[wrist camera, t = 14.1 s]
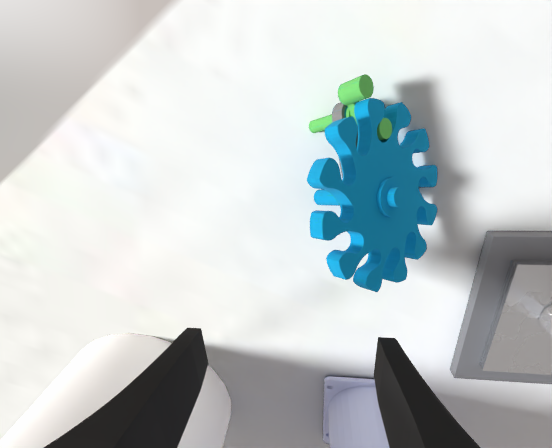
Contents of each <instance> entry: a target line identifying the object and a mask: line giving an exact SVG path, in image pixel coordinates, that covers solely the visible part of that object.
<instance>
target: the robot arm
mask: <svg viewBox="0 0 552 448" xmlns="http://www.w3.org/2000/svg"><path fill="white" fill-rule="evenodd" d="M207 366H208V360H207V356H206V351H205V346H204V341H203V336H202V331H201V329H200V328H187V329H186V330H185V331H184V332H183V333H181V334H180V335H179V336H178V338H177V339H176V340H175V341H174V342H173V343H172V344H171V345H170V346H169V347H168V348H167V349H166V350H165V351H164V352H163V353H162V354H161V355H160V356H159V357H158V358H157V359H156V360H154V361H153V362H152V363H151V364H150V365H149V366H148V367H147V368H146V369H145V370H144V371H143V372H142V373H141V374H140V375H139V376H138V377H136V378H135V379H134V380H133V381H132V382H131V383H130V384H129V385H128V386H126V387H125V388H124V389H123V390H122V391H121V392H120V393H118V394H117V395H116V396H115V397H114V398H112V399H111V400H110V401H109V402H107V403H106V404H105V405H104V406H102V407H101V408H100V409H98V410H97V411H96V412H94V413H93V414H92V415H90V416H89V417H88V418H86V419H85V420H83V421H82V422H81V423H79V424H78V425H76V426H75V427H73V428H72V429H71V430H69V431H68V432H66V433H65V434H64V435H62V436H61V437H59V438H58V439H56V440H54V441H53V442H51V443H50V444H48V445H47V446H45V447H44V448H177V447H178V445H179V442H180V440H181V437H182V435H183V433H184V430H185V428H186V425H187V423H188V420H189V418H190V415H191V413H192V411H193V408H194V406H195V403H196V401H197V398H198V396H199V393H200V390H201V388H202V384H203V381H204V377H205V374H206V370H207ZM323 441H324V442H325V443H326V444H330V448H480V447H479V446H478V445H477V443H476V442H475V441H474V440H473V439H472V438H471V437H470V436H469V435H468V434H467V433H466V431H465V430H464V429H463V428H462V427H461V426H460V425H459V423H458V422H457V421H456V420H455V419H454V418H453V416H452V415H451V414H450V413H449V412H448V410H447V409H446V408H445V407H444V405H443V404H442V403H441V402H440V400H439V399H438V398H437V397H436V395H435V394H434V393H433V391H432V390H431V389H430V387H429V386H428V385H427V384H426V382H425V381H424V380H423V378H422V377H421V375H420V374H419V373H418V371H417V370H416V368H415V367H414V366H413V364H412V363H411V361H410V360H409V358H408V357H407V355H406V354H405V352H404V351H403V349H402V348H401V346H400V344H399V343H398V341H397V340H396V339H395V338H381V337H378V343H377V352H376V360H375V369H374V379H363V378H348V377H334V376H328V377H326V378H325V379H324V416H323Z"/></svg>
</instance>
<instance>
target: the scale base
mask: <svg viewBox="0 0 552 448" xmlns="http://www.w3.org/2000/svg"><path fill="white" fill-rule="evenodd" d="M512 260H552V231H487V233H486V236H485V240H484V244H483V248H482V251H481V255H480V259H479V263H478V266H477V270H476V274H475V278H474V281H473V285H472V289H471V293H470V296H469V300H468V304H467V308H466V311H465V315H464V319H463V323H462V326H461V330H460V334H459V338H458V341H457V345H456V349H455V353H454V356H453V360H452V364H451V368H450V370H451V373H452V375H453V377H454V378H464V379H479V380H495V381H510V382H525V383H541V384H552V375H544V374H528V373H511V372H495V371H482V369H481V367H480V366H479V361H480V358H481V355H482V352H483V349H484V346H485V342H486V339H487V336H488V333H489V330H490V327H491V324H492V320H493V317H494V314H495V311H496V308H497V305H498V302H499V299H500V295H501V292H502V289H503V286H504V283H505V280H506V277H507V273H508V270H509V267H510V264H511V261H512Z"/></svg>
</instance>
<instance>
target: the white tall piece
mask: <svg viewBox="0 0 552 448" xmlns="http://www.w3.org/2000/svg"><path fill="white" fill-rule="evenodd" d="M171 344H172V343H171V342H168V341H165V340H162V339H159V338H156V337H153V336H147V335H140V334H132V333H125V334H113V335H107V336H104V337H102V338H99V339H96V340H93V341H92V342H91V343H89V344H88V345H87V346H86V347H85V348H83V349H82V350H81V351H80V352H79V353H78V354H77V356H76V357H75V358H74V359H73V360H72V361H71V362H70V363H69V364H68V366H67V367H66V368H65V369H64V370H63V371H62V372H61V373H60V374H59V376H58V377H57V378H56V379H55V380H54V381H53V382H52V383H51V384H50V386H49V387H48V388H47V389H46V390H45V391H44V392H43V393H42V395H41V396H40V397H39V398H38V399H37V400H36V401H35V402H34V403H33V405H32V406H31V407H30V408H29V409H28V410H27V411H26V412H25V413H24V415H23V416H22V417H21V418H20V419H19V420H18V421H17V422H16V423H15V425H14V426H13V427H12V428H11V429H10V430H9V431H8V432H7V433H6V435H5V436H4V437H3V438H2V439H1V440H0V448H44V447H45V446H47V445H48V444H50V443H51V442H53V441H54V440H56V439H58V438H59V437H61V436H62V435H64V434H65V433H66V432H68V431H69V430H71V429H72V428H73V427H75V426H76V425H78V424H79V423H81V422H82V421H83V420H85V419H86V418H88V417H89V416H90V415H92V414H93V413H94V412H96V411H97V410H98V409H100V408H101V407H102V406H104V405H105V404H106V403H107V402H109V401H110V400H111V399H112V398H114V397H115V396H116V395H117V394H118V393H120V392H121V391H122V390H123V389H124V388H125V387H126V386H128V385H129V384H130V383H131V382H132V381H133V380H134V379H135V378H136V377H138V376H139V375H140V374H141V373H142V372H143V371H144V370H145V369H146V368H147V367H148V366H149V365H150V364H151V363H152V362H153V361H154V360H156V359H157V358H158V357H159V356H160V355H161V354H162V353H163V352H164V351H165V350H166V349H167V348H168V347H169V346H170V345H171ZM230 417H231V399H230V396H229V394H228V391H227V388H226V386H225V384H224V383H223V381H222V380H221V379H220V378H219V376H218V375H217V374H216V372H215V371H214V370H213V369H212V368H211V367H210V366H209V365H208V366H207V370H206V374H205V377H204V381H203V384H202V388H201V390H200V393H199V396H198V398H197V401H196V403H195V406H194V408H193V411H192V413H191V415H190V418H189V420H188V423H187V425H186V428H185V430H184V433H183V435H182V437H181V440H180V442H179V445H178V447H177V448H223V444H224V440H225V436H226V432H227V429H228V425H229V421H230Z"/></svg>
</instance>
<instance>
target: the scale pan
mask: <svg viewBox="0 0 552 448" xmlns="http://www.w3.org/2000/svg"><path fill="white" fill-rule="evenodd" d="M550 305H552V260H512V261H511V264H510V267H509V270H508V273H507V277H506V280H505V283H504V286H503V289H502V292H501V295H500V299H499V302H498V305H497V308H496V311H495V314H494V317H493V320H492V324H491V327H490V330H489V333H488V336H487V339H486V342H485V346H484V349H483V352H482V355H481V358H480V361H479V366H480V367H481V369H482V371H495V372H511V373H528V374H544V375H552V343H551V341H550V340H549V339H548V338H547V337H546V335H545V334H544V333H543V331H542V330H541V327H540V324H539V321H538V319H539V318H540V316H541V314H542V313H543V311H544V309H545V308H547V307H548V306H550Z"/></svg>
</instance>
